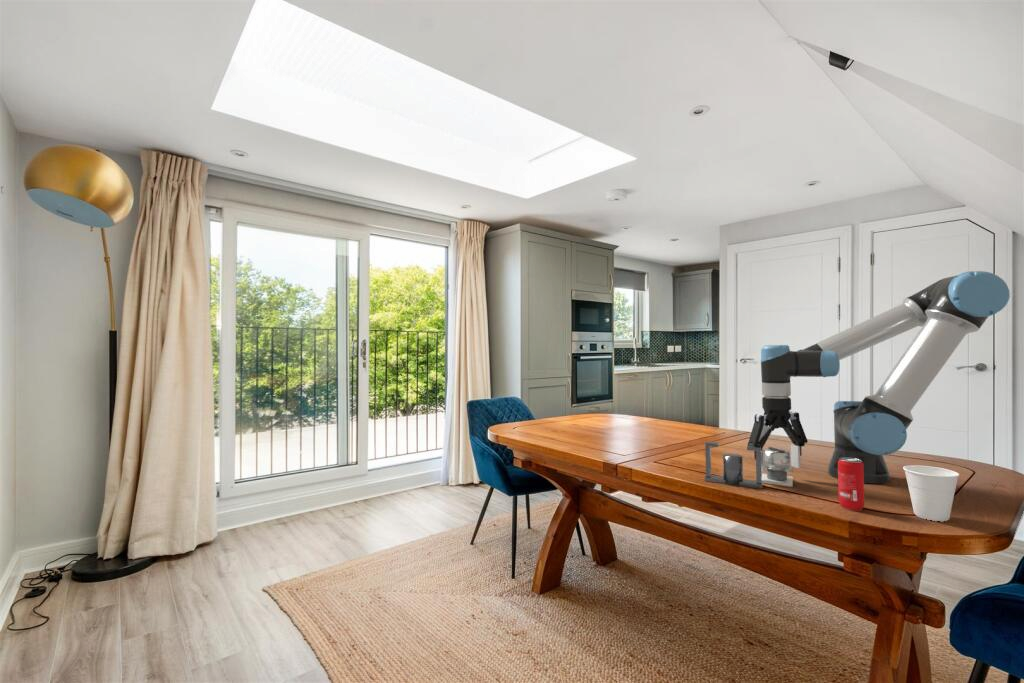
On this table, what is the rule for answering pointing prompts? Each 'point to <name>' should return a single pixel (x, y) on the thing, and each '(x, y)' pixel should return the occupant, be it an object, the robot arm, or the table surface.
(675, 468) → the table surface
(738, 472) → the gray u-shaped frame
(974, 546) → the table surface
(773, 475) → the stand
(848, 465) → the beverage can
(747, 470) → the table surface
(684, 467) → the table surface
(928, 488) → the cup
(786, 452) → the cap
